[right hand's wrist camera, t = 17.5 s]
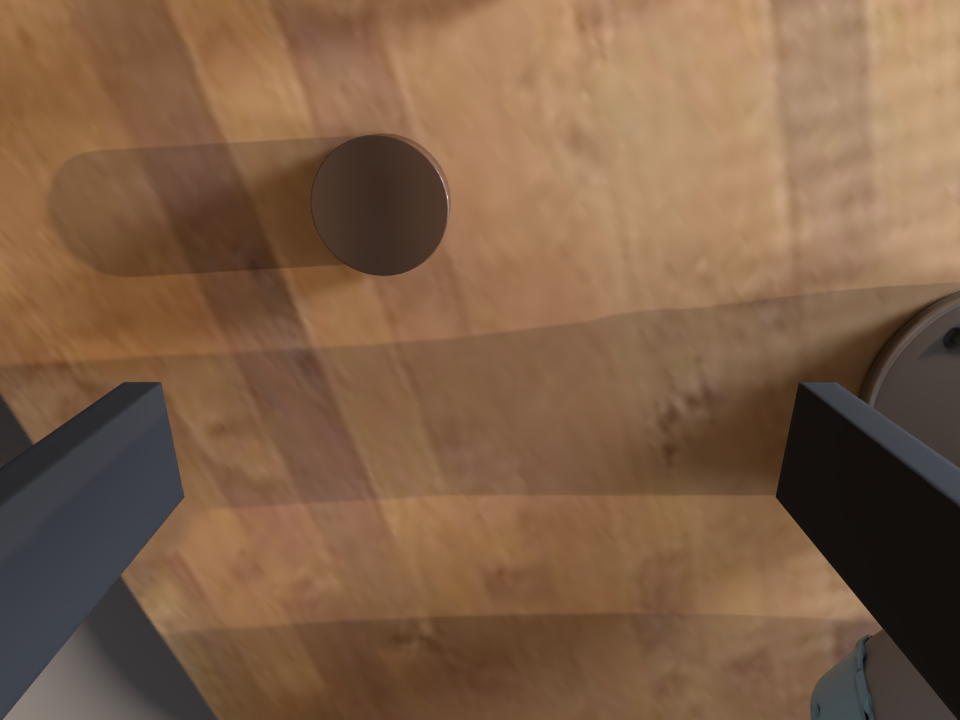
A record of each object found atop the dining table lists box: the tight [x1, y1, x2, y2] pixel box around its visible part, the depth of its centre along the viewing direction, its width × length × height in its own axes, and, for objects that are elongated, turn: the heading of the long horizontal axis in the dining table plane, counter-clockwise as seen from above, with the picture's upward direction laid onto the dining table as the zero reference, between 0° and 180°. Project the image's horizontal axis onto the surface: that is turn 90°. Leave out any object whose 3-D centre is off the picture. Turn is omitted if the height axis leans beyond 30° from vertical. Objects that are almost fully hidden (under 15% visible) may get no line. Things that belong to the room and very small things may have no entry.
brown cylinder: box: [311, 134, 450, 276], centre depth 33 cm, size 7×7×4 cm
